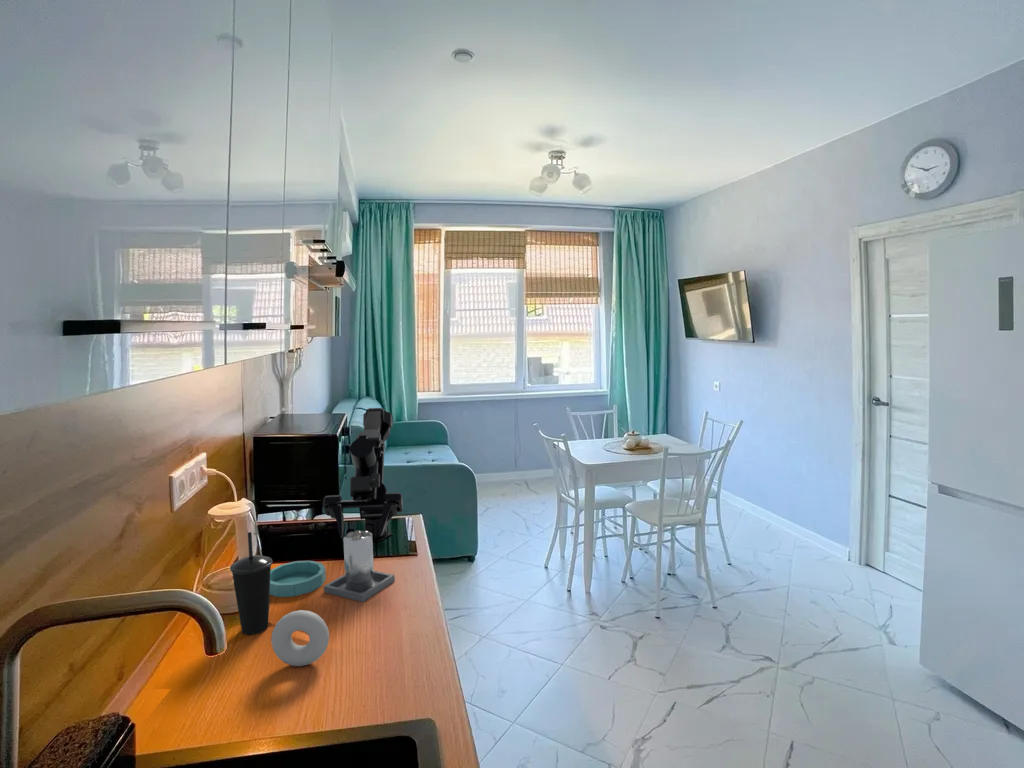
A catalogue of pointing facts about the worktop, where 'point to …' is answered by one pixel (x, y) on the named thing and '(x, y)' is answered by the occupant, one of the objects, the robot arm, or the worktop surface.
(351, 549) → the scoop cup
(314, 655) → the donut
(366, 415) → the robot arm
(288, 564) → the bowl
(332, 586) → the parts tray
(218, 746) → the worktop surface
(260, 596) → the drinking cup
